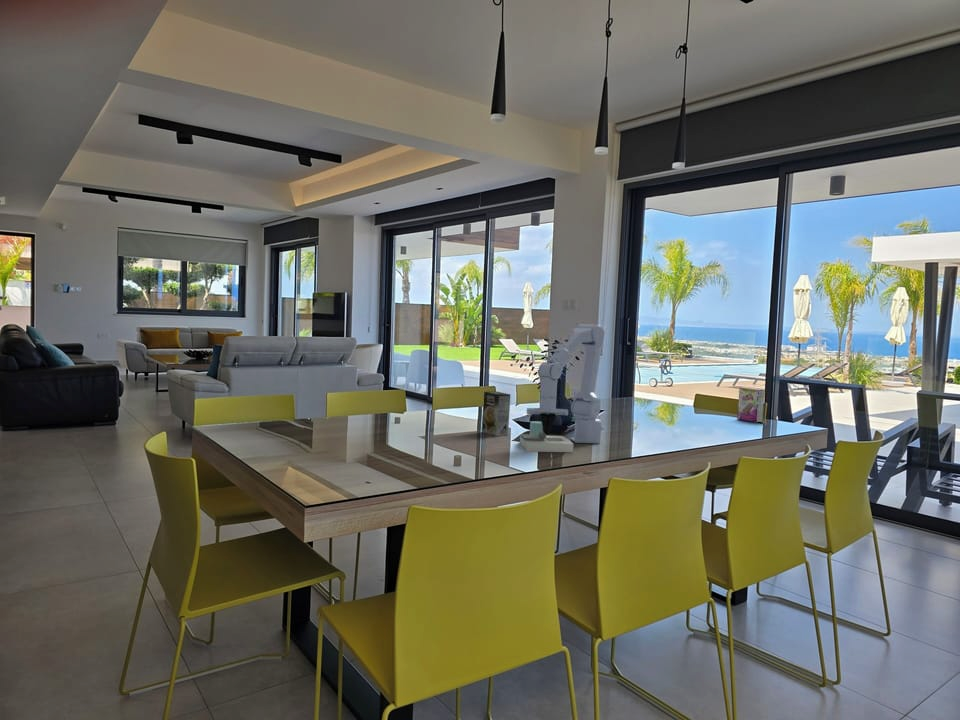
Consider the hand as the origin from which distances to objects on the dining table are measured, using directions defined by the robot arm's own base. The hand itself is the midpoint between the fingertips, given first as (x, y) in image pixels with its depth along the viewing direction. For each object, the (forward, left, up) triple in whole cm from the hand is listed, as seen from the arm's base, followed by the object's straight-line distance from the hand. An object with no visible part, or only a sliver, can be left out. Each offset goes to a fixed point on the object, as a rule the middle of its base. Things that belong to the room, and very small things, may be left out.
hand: (546, 434), depth 221 cm
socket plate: (0, 0, -4) cm, 4 cm away
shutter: (+5, 0, -1) cm, 5 cm away
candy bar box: (-120, -75, -5) cm, 141 cm away
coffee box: (+14, -25, -5) cm, 29 cm away
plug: (0, -15, -4) cm, 16 cm away
